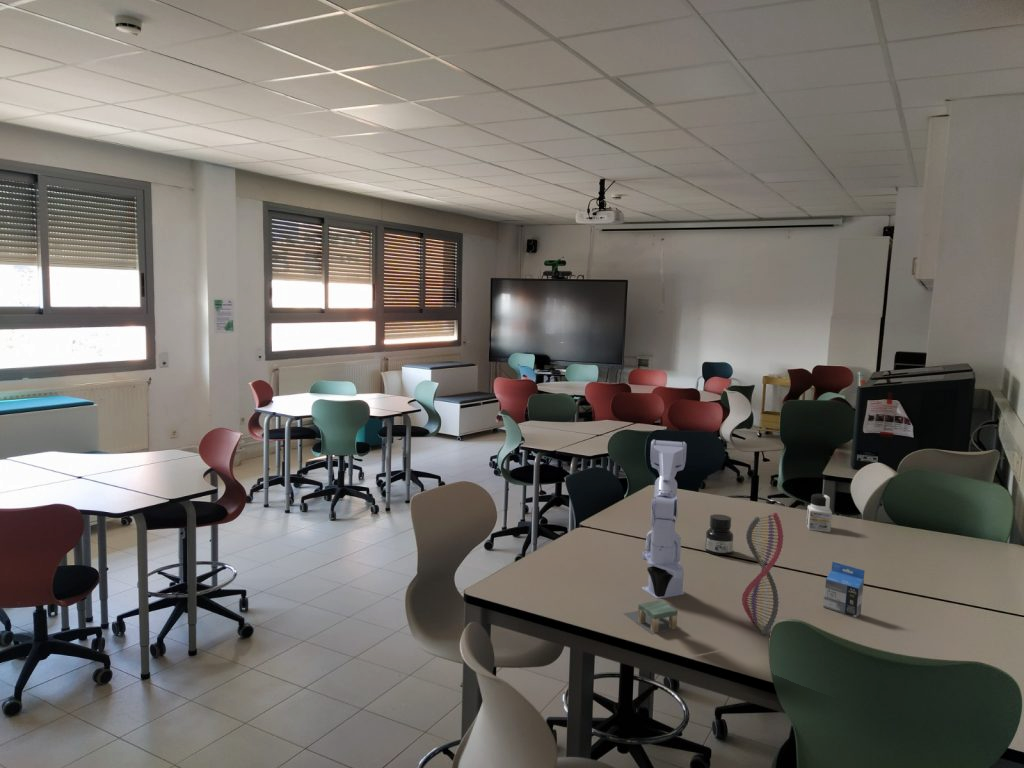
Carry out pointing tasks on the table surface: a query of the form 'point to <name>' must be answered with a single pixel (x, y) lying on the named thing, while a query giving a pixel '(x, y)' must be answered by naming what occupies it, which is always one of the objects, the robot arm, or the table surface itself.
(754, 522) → the dna model
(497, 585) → the table surface
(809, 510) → the container
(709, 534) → the ink bottle
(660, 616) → the stool
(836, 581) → the ink cartridge box
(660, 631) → the mat
